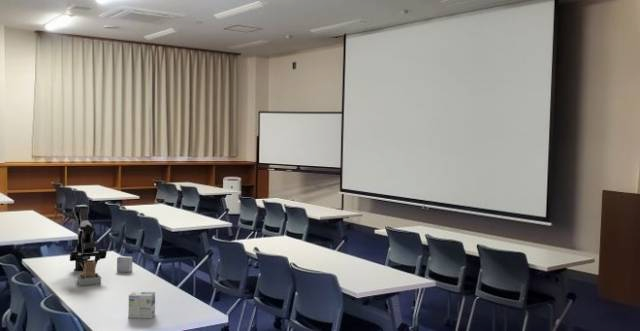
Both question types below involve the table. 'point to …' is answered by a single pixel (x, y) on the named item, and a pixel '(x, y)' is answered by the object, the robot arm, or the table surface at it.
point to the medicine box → (124, 264)
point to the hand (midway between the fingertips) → (89, 268)
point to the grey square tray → (89, 280)
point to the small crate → (89, 269)
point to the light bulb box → (141, 305)
